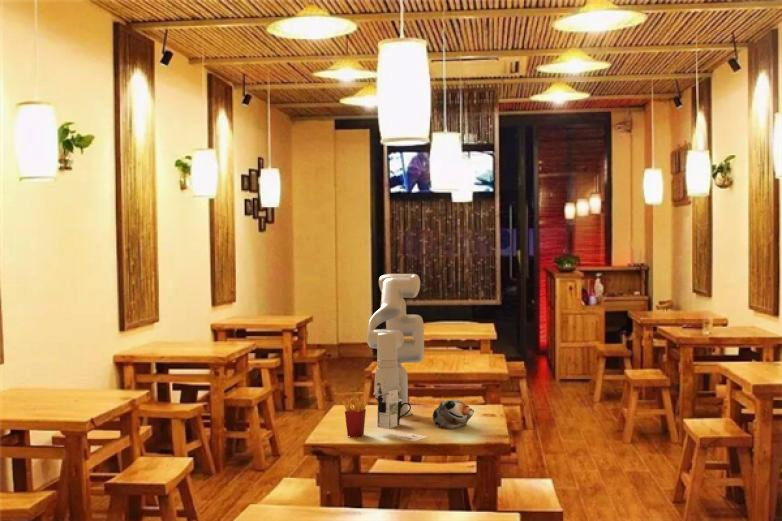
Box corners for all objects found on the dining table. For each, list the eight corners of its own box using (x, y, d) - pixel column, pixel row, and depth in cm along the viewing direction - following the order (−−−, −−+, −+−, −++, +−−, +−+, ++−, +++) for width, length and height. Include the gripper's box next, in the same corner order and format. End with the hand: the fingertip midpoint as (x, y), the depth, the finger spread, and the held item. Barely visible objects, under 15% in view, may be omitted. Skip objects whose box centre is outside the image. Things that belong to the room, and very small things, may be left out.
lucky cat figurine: (468, 422, 364) (477, 395, 358) (465, 440, 354) (475, 412, 347) (432, 411, 365) (441, 384, 358) (429, 429, 354) (438, 401, 348)
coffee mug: (377, 426, 359) (377, 401, 358) (385, 422, 367) (384, 397, 366) (404, 428, 355) (404, 403, 354) (411, 423, 363) (411, 399, 362)
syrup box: (386, 424, 347) (385, 387, 347) (398, 426, 344) (398, 389, 343) (377, 427, 343) (376, 389, 342) (389, 429, 339) (389, 391, 339)
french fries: (361, 438, 338) (360, 398, 338) (340, 437, 341) (340, 397, 340) (368, 433, 347) (367, 394, 346) (348, 432, 349) (347, 393, 348)
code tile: (394, 438, 338) (394, 437, 338) (409, 433, 345) (409, 433, 345) (413, 441, 332) (413, 441, 332) (428, 437, 339) (428, 436, 339)
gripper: (394, 360, 352) (394, 406, 352) (364, 366, 338) (365, 413, 339) (409, 362, 347) (409, 408, 347) (380, 367, 334) (380, 415, 334)
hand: (387, 410), depth 343 cm, fingers closed on syrup box, 5 cm apart
